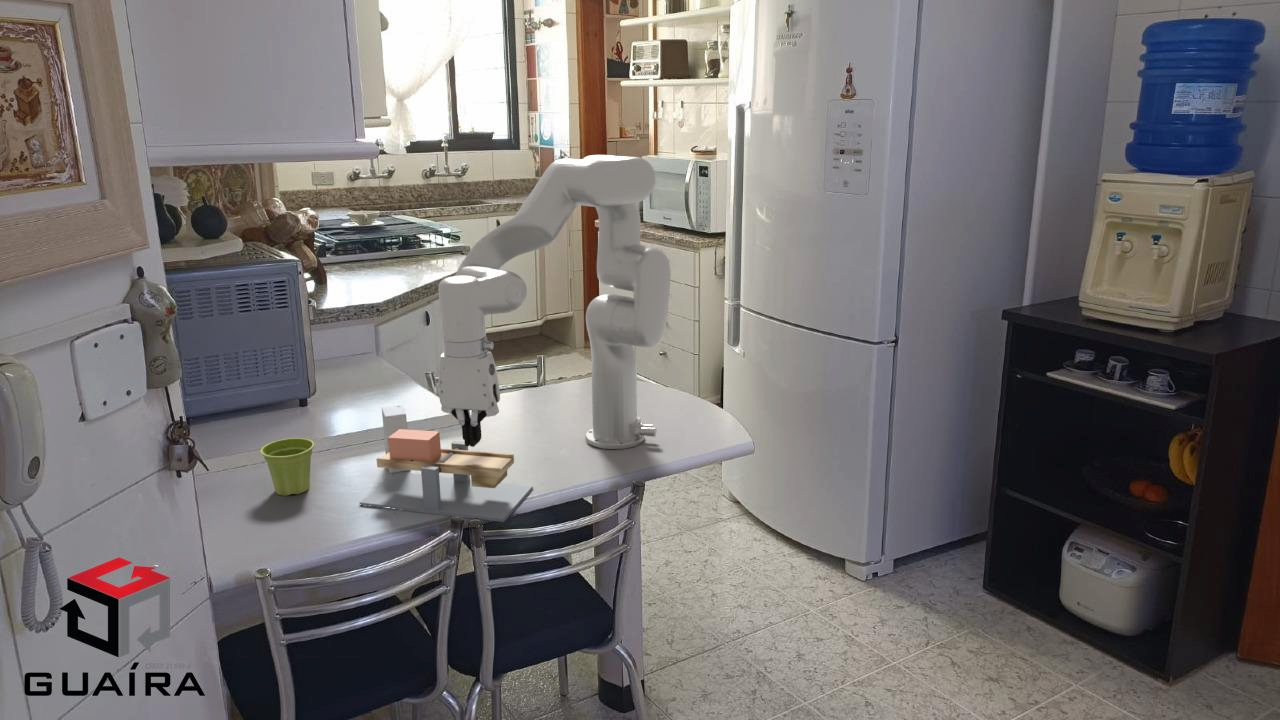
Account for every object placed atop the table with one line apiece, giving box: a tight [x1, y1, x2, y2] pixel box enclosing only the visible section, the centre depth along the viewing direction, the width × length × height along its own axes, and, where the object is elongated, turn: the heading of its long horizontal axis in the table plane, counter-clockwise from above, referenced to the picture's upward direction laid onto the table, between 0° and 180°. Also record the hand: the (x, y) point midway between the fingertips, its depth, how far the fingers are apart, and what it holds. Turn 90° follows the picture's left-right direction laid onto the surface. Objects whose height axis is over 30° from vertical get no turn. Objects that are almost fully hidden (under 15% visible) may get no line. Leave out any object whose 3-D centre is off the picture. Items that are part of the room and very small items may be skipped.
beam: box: [376, 448, 515, 488], centre depth 173 cm, size 24×10×4 cm, turn 76°
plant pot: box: [260, 437, 315, 497], centre depth 176 cm, size 9×9×9 cm
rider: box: [388, 429, 442, 462], centre depth 172 cm, size 8×4×4 cm, turn 77°
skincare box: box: [381, 404, 410, 474], centre depth 187 cm, size 6×4×12 cm
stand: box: [359, 440, 534, 523], centre depth 173 cm, size 28×14×8 cm, turn 76°
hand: (472, 443), depth 171 cm, fingers closed
